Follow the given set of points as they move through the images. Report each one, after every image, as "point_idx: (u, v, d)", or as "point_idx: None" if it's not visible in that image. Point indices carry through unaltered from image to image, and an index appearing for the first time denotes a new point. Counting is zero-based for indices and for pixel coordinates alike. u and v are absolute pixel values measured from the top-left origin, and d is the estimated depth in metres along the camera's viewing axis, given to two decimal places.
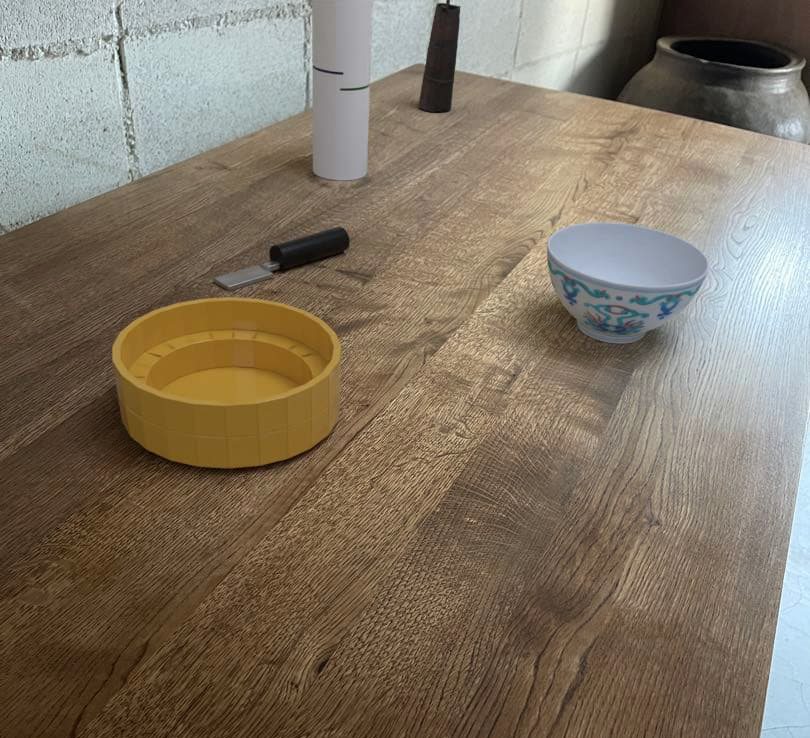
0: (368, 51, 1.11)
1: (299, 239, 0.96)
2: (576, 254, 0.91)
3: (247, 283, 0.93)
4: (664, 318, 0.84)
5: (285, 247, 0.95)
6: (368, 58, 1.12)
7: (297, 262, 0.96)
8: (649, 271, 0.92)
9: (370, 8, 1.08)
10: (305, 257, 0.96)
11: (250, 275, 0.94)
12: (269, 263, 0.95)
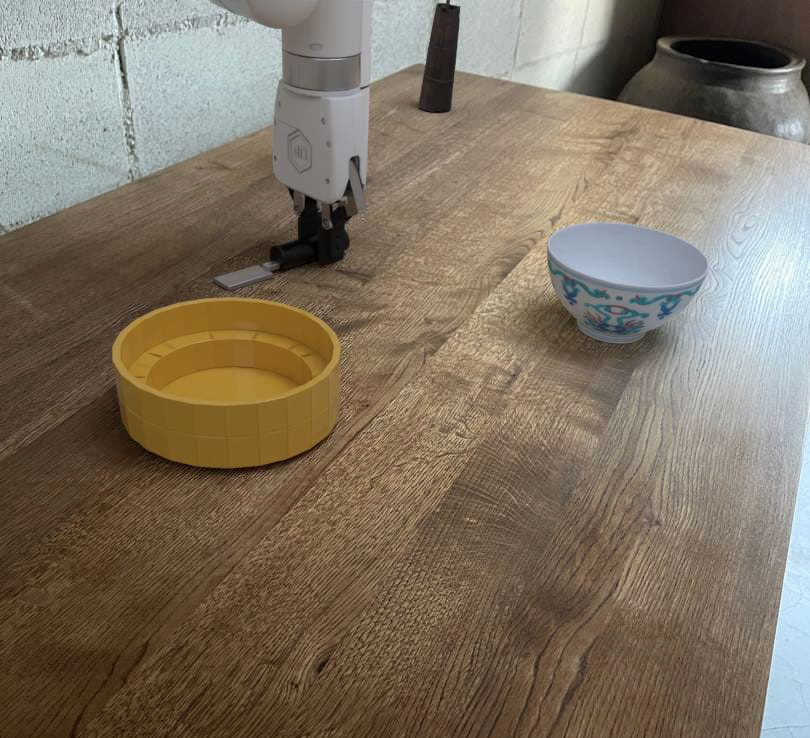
0: (368, 51, 1.11)
1: (299, 239, 0.96)
2: (576, 254, 0.91)
3: (247, 283, 0.93)
4: (664, 318, 0.84)
5: (285, 247, 0.95)
6: (368, 58, 1.12)
7: (297, 262, 0.96)
8: (649, 271, 0.92)
9: (370, 8, 1.08)
10: (305, 256, 0.96)
11: (250, 275, 0.94)
12: (269, 263, 0.95)
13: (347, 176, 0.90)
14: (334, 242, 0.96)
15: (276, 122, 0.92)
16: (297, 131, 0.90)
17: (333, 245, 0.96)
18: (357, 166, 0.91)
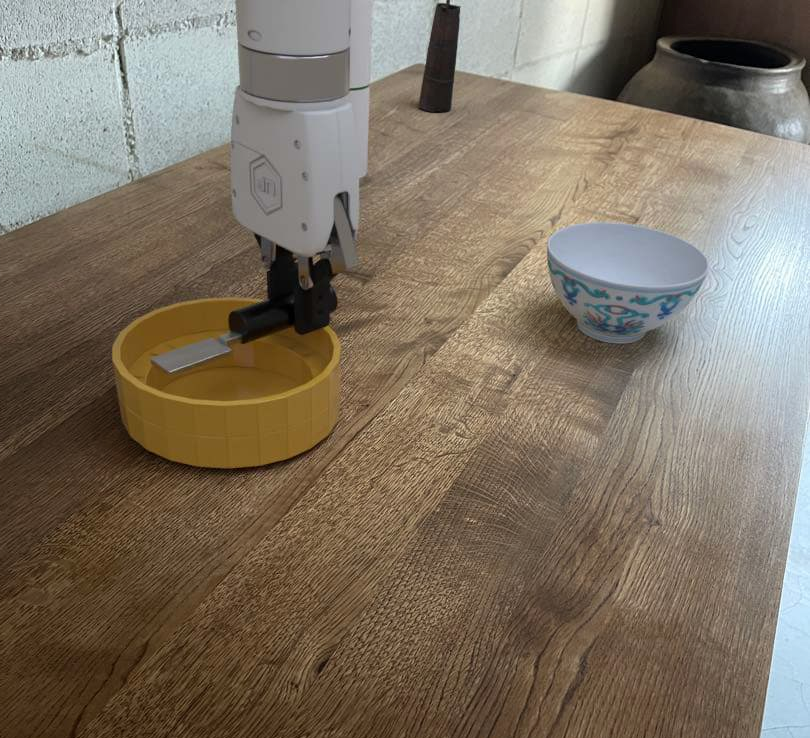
0: (368, 51, 1.11)
1: (269, 301, 0.71)
2: (576, 254, 0.91)
3: (196, 365, 0.68)
4: (664, 318, 0.84)
5: (249, 313, 0.70)
6: (368, 58, 1.12)
7: (266, 333, 0.71)
8: (649, 271, 0.92)
9: (370, 8, 1.08)
10: (277, 325, 0.71)
11: (201, 353, 0.68)
12: (227, 335, 0.70)
13: (331, 220, 0.65)
14: (316, 305, 0.71)
15: (235, 144, 0.67)
16: (262, 158, 0.65)
17: (314, 309, 0.71)
18: (346, 205, 0.66)
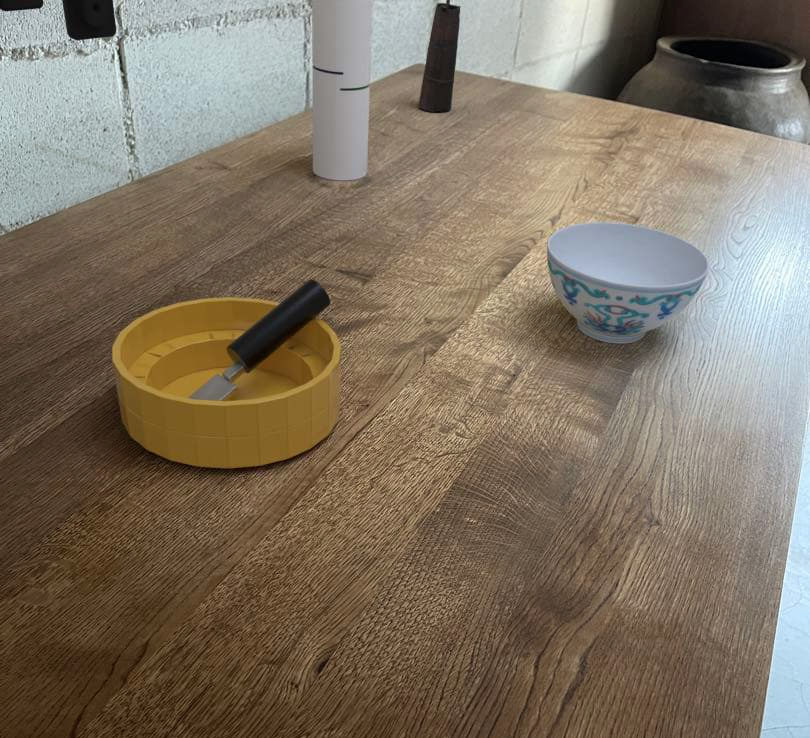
0: (368, 51, 1.11)
1: (260, 324, 0.72)
2: (576, 254, 0.91)
3: None
4: (664, 318, 0.84)
5: (243, 346, 0.71)
6: (368, 58, 1.12)
7: (265, 356, 0.72)
8: (649, 271, 0.92)
9: (370, 8, 1.08)
10: (274, 345, 0.72)
11: (209, 399, 0.71)
12: (230, 370, 0.72)
13: None
14: None
15: None
16: None
17: (87, 1, 0.57)
18: None
